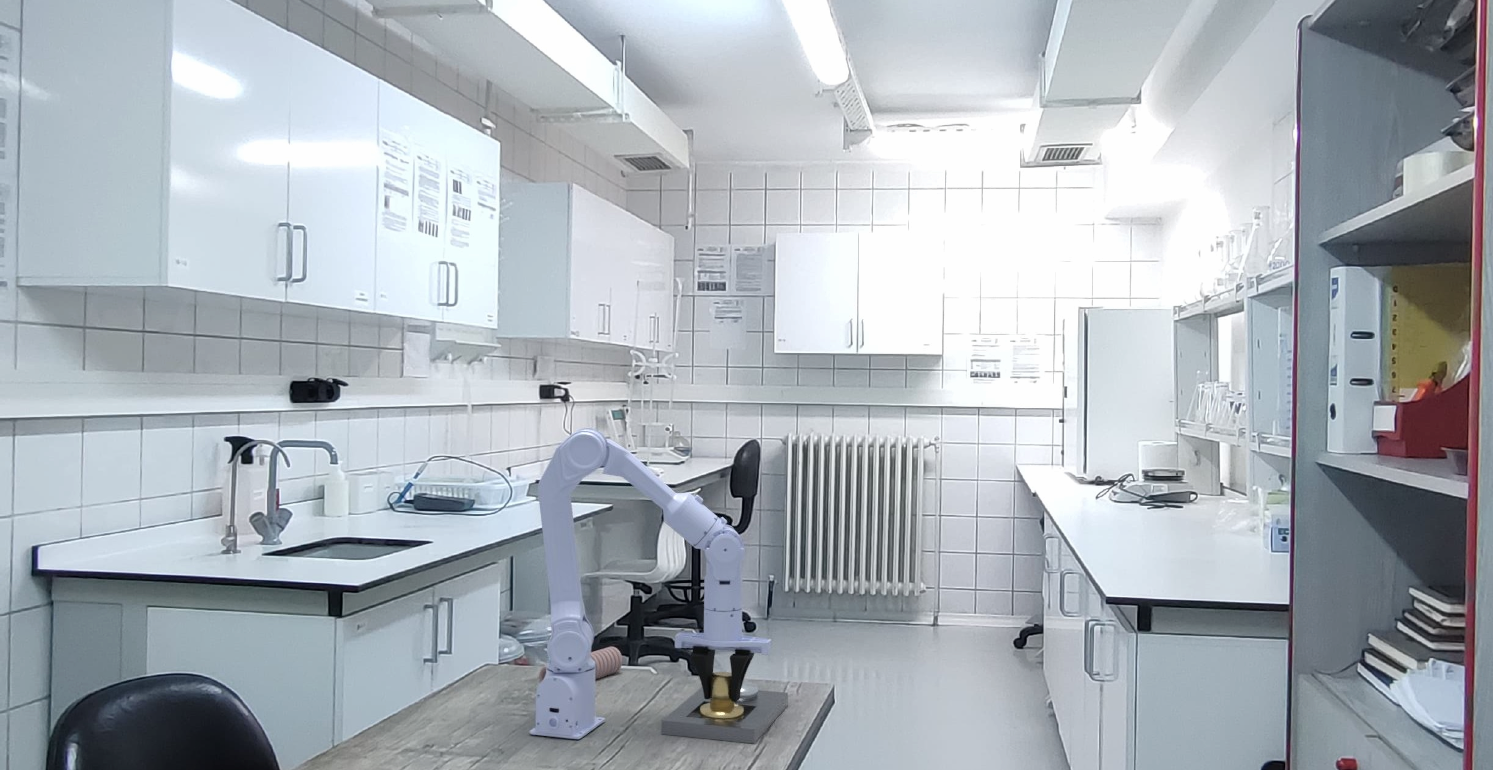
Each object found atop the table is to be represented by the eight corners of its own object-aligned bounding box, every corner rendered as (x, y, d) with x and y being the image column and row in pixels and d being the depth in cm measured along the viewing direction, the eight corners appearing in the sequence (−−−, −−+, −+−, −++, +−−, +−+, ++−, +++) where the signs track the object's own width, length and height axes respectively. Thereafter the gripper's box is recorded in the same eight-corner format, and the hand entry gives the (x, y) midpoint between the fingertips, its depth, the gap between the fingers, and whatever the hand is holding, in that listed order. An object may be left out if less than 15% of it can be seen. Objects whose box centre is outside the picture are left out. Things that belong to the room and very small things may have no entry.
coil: (556, 670, 179) (627, 649, 194) (536, 663, 182) (607, 642, 197) (554, 698, 179) (624, 675, 195) (533, 690, 182) (604, 668, 197)
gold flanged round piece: (737, 724, 161) (738, 682, 161) (694, 720, 162) (695, 678, 162) (748, 712, 167) (749, 671, 167) (707, 708, 169) (708, 667, 169)
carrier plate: (754, 743, 156) (754, 718, 156) (661, 734, 160) (661, 710, 160) (787, 705, 175) (788, 683, 175) (704, 697, 179) (704, 676, 179)
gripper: (776, 606, 167) (775, 695, 166) (685, 600, 170) (684, 687, 170) (764, 615, 160) (763, 708, 160) (670, 608, 164) (669, 699, 164)
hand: (722, 698), depth 165 cm, fingers closed on gold flanged round piece, 4 cm apart
